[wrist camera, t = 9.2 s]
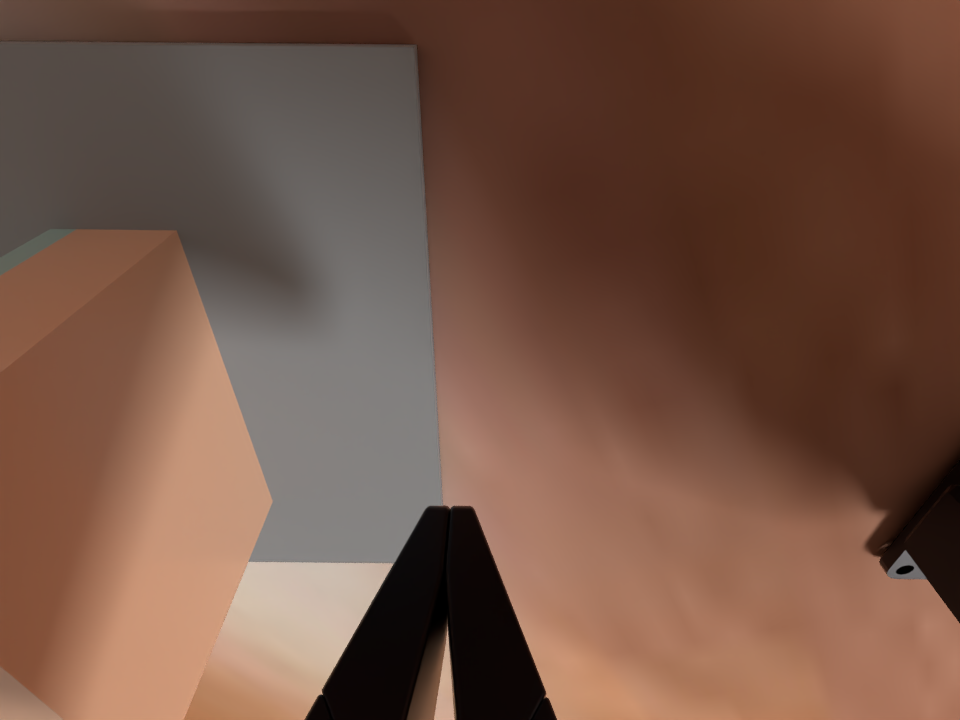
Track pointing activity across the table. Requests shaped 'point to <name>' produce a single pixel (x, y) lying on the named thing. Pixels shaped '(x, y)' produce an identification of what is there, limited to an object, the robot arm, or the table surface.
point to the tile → (115, 479)
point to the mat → (263, 248)
